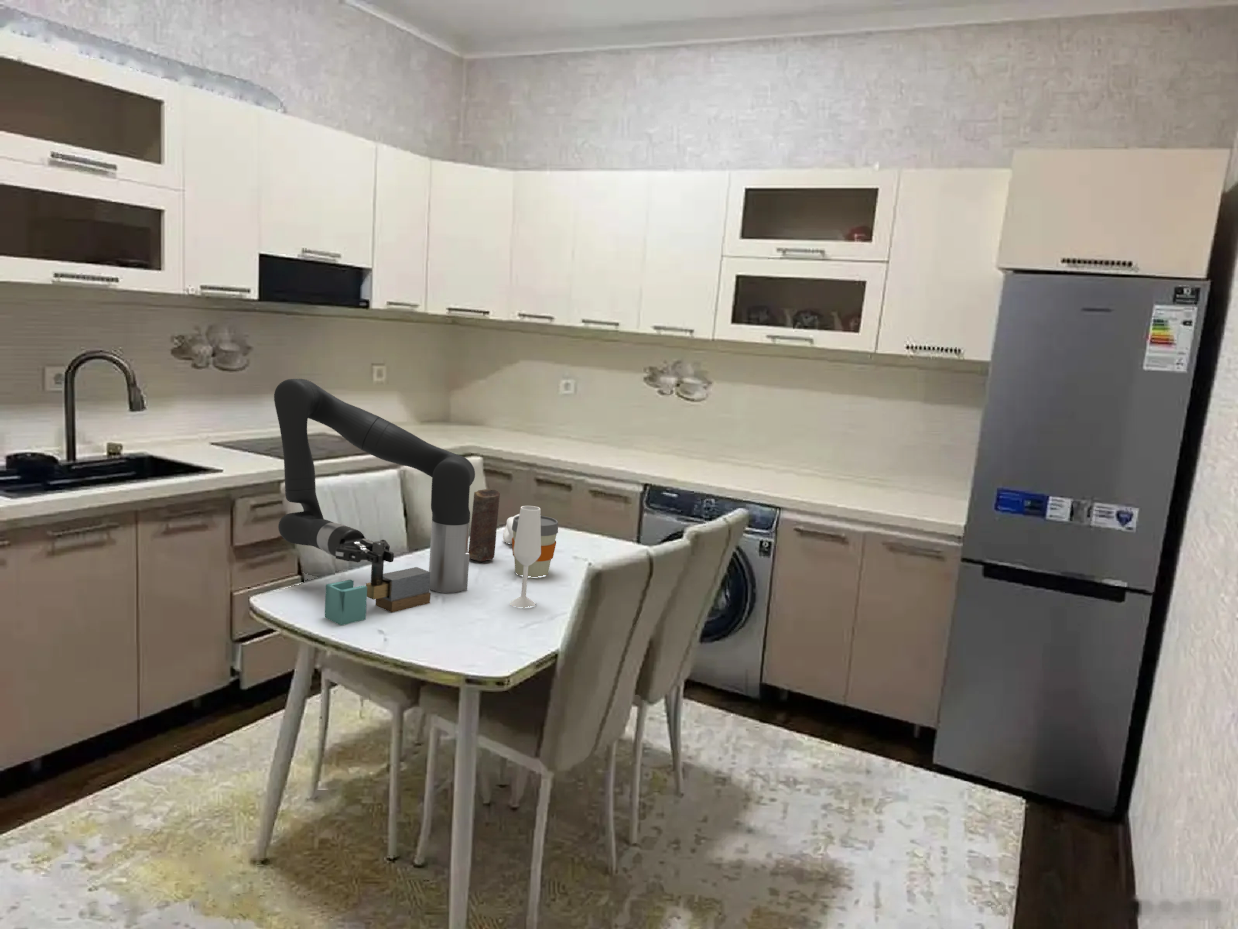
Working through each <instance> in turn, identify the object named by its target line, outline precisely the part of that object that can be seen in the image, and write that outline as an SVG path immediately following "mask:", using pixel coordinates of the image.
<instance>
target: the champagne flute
mask: <svg viewBox="0 0 1238 929" xmlns="http://www.w3.org/2000/svg"><path fill="white" fill-rule="evenodd" d="M541 511H542V510H541V508H540V507H539V506H534V505H522V506H520V509H519V514H520V515H519V520H518V526H517V532H516V538H515V543H514V549H513V551H512V555H513V554H514V556H515V558H516V559H517V560H518V561H519V562H520V563H521V564H522V565H523V566H524V567H523V577H522V581H521V592H520V594H521V595H520V597H517V598H515V599H512V600H511V601H509V603H510V604H509V606H511V605H512V606H511V607H513V606H516V607H523V608H525V607H528V606H529V607H530V606H535V603H536V602H535V601H534V600H532V599H531V598H528V596H527V591H528V590H527V588H528V578H527V577H528V566H529V565H531V564H533V563H534V562H535V561H536V560H537V559H538V558H539V557H540V555H541V516H542V515H541ZM514 556H513V557H514ZM534 602H535V603H534Z"/></svg>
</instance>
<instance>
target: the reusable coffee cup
mask: <svg viewBox="0 0 1238 929" xmlns="http://www.w3.org/2000/svg"><path fill="white" fill-rule="evenodd" d="M513 517H514V516H513ZM518 520H519V516H516V517H514V519H513V525H512V530H513V538H512V544H511V548H512V552H513V549H514V543H515V538H516V532H517V526H518ZM558 533H559V521H558V520H557V519H556V518H553V517H550V516H545V515H541V555H540V557H539V558H538V559H537V560H536V561H535V562H534V563H533V564H531V565H529V566H528V576H531V577H538V576H543V575H547V574H548V575H549V572H550V568H551V567H550V566H551V562H552V560H553V559H554V555H555V550H556V546H557V540H556V538H557V535H558ZM512 556H513V558H514V573H515V572H516V573H517V574H518V575H523V567H524V566H523V565H522V564H521V563H520V562H519V561H518V560H517V559H516V558H515V556H514V554H513V553H512ZM518 575H517V576H518ZM548 575H547V576H548Z"/></svg>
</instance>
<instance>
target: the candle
mask: <svg viewBox="0 0 1238 929" xmlns="http://www.w3.org/2000/svg"><path fill="white" fill-rule="evenodd" d="M500 495H501V492H500V491H498V490H496V489H490V488H483V489H478V490H476V491H474V492H473V502H472V512H471V520H470V521H471V523H470V531H469V540H468V552H469V560H471V559H472V560H473V561H475V562H479V563H480V562H485V561H490V560H493V559H494V558H495V554H496V553H495V552H496V543H497V542H496V540H497V529H498V521H499V520H498V519H499V508H500V499H501V498H500V497H501V496H500Z"/></svg>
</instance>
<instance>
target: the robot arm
mask: <svg viewBox="0 0 1238 929" xmlns="http://www.w3.org/2000/svg"><path fill="white" fill-rule="evenodd" d="M273 401H274V407H275V412H276V415H277V421H278V425H279V431H280V436H281V444H282V451H283V452H282V453H283V454H282V455H283V465H284V468H283V469H284V470H283V472H284V493H285V494H284V495H285V499H286V500H287V502H288V503H289V502H290V503H294V504H300V505H301V506H302V509H303V510H302V511H296V512H289V513H287V514H285V515H283V516H282V517H281V518H280V520H279V521H278V526H277V527H278V533H279V535H280V536H281V538H283V540H285V541H286V542H288V543H290V544H295V545H301V546H308V547H309V546H310V547H314V548H317V549H318V550H320V551H323V552H325V553H326V554H328V555H330V556H333V557H335V559H336V560H342V561H346V562H353V563H361V561H363V562H365V563H368V562H370V563H371V564H372V563H374V564H377V565H379V564H381V560H382V556H381V555H380V554H378V553H375V552H372V547H373V542H374V541H372V540H370V539H367V538H366V537H365V536H364V534H363V532H362V531H360V530H358V529H356V528H353V527H351V526H348V525H345V524H342V523H339V522H334V521H331V520H328V519H324V515H323V513H322V509H321V507H320V503H319V500H318V497H317V492H316V491H317V490H316V487H317V486H316V471H315V462H314V458H313V454H312V451H311V448H310V443H309V437H308V436H309V435H308V419H310V420H313V421H315V422H317V423H318V424H321V425H324V426H326V427H328V428H330V429H332V430H333V431H334V432H336V433H337V434H339V435H340V436H341V437H342V438H343V439H345V440H346V441H347V442H349V444H351V445H352V446H354V447H355V448H357V449H359V450H361V451H364V452H365V453H367V454H369V455H371V456H373V457H375V458H377V459H379V460H383V461H386V462H388V463H393V464H396V465H401V466H405V467H409V468H412V469H414V470H418V471H420V472H422V473H423V474H426V475H427V476H429V477H431V494H430V495H431V496H430V509H431V528H430V529H431V531H430V532H431V533H430V545H429V546H430V548H429V549H430V550H429V562H428V571H429V572H430V588H429V590H431V591H433V592H437V593H442V594H445V593H447V594H451V593H459V592H463V591H468V582H469V581H468V580H469V567H470V566H469V565H470V558H469V552H468V550H469V539H470V524H471V523H470V521H471V511H470V492H471V491H470V490H471V485H472V484H473V483H474V480H475V477H476V471H475V468H474V465H473V464H472V462H471V461H470V460H469V459H468V458H466V457H464V456H463V455H460V454H457V453H454V452H451V451H448V450H446V449H443V448H441V447H439V446H436V445H434V444H431V443H429V442H428V441H425V440H423V439H422V438H420V437H418V436H416V435H415V434H414V433H411V432H409V431H407V430H406V429H404V428H402V427H400V426H398V425H397V424H394V423H393V422H391V421H389V420H387V419H384V418H383V417H381V416H379V415H377V414H373V413H372V412H370V411H368V410H366V409H362V408H360V407H358V406H355V405H352V404H349V403H348V402H345V401H344V400H341V399H340V398H338V397H336V396H334V395H332V394H331V393H330V392H328V391H326V390H324V389H323V388H322V387H321V386H319V385H318V384H315V383H314V382H312V381H310V380H308V379H303V378H288V379H285V380H282V381H281V382H280V383H279V384H278V385H277V386H276V388H275V390H274V393H273ZM379 541H381V542H384V543H385V548H384V561H385V562H387V563H393V562H394V557H395V553H394V552H393V551H390V544H389V543H388V542H387V540H386V539H380V540H379Z"/></svg>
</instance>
